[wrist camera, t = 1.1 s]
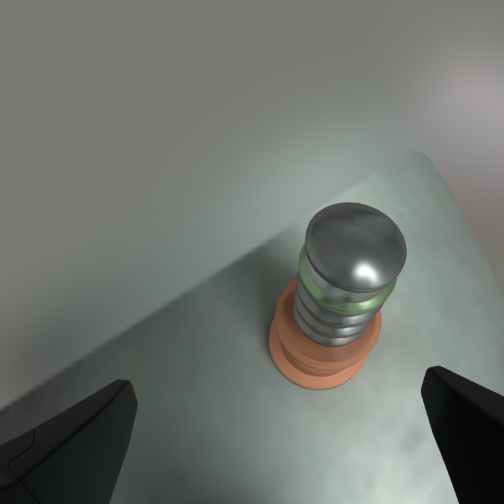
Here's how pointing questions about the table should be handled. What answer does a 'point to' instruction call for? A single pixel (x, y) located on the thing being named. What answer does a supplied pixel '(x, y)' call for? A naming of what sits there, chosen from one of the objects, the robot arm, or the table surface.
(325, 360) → the housing
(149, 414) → the table surface
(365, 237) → the grey ribbed cylinder
